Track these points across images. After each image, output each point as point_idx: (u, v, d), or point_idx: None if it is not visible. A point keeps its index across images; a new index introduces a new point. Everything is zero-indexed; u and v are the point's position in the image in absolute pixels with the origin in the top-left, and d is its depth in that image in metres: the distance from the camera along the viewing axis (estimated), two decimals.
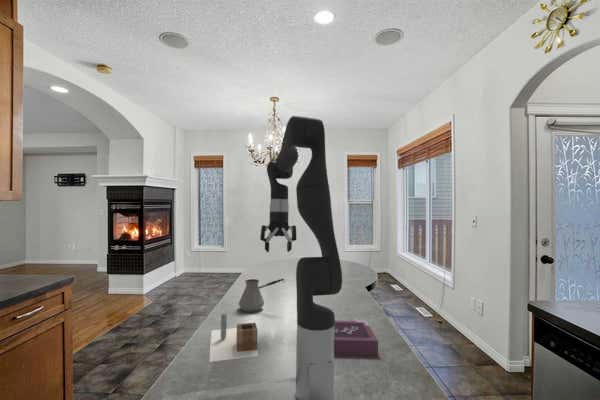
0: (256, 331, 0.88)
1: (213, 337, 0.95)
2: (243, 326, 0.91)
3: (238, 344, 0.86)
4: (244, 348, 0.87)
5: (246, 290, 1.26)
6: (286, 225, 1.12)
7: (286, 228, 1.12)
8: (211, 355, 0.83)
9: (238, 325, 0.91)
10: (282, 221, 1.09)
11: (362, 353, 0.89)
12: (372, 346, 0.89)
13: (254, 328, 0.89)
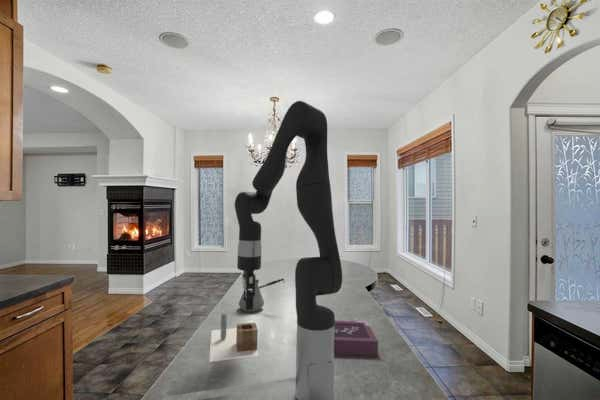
0: (256, 331, 0.88)
1: (213, 337, 0.95)
2: (243, 326, 0.91)
3: (238, 344, 0.86)
4: (244, 348, 0.87)
5: None
6: None
7: None
8: (211, 355, 0.83)
9: (238, 325, 0.91)
10: None
11: (362, 353, 0.89)
12: (371, 346, 0.89)
13: (254, 328, 0.89)
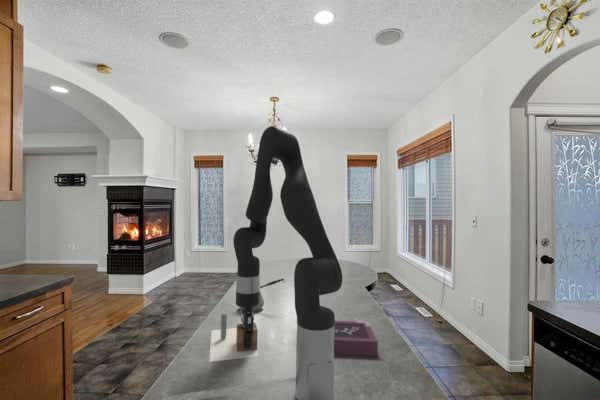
0: (256, 331, 0.88)
1: (213, 337, 0.95)
2: None
3: (238, 344, 0.86)
4: (244, 348, 0.87)
5: None
6: None
7: None
8: (211, 355, 0.83)
9: (238, 325, 0.91)
10: None
11: (361, 354, 0.88)
12: (371, 346, 0.88)
13: (254, 328, 0.89)
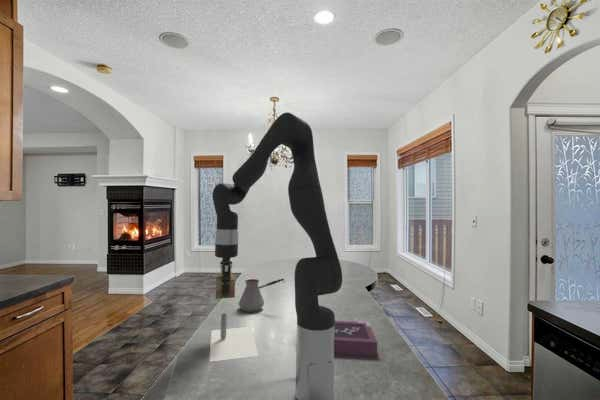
0: (234, 280, 0.93)
1: (213, 337, 0.95)
2: None
3: (216, 292, 0.92)
4: (222, 295, 0.92)
5: (246, 290, 1.26)
6: None
7: None
8: (211, 355, 0.83)
9: (217, 276, 0.97)
10: None
11: (361, 354, 0.88)
12: (371, 347, 0.88)
13: (232, 278, 0.94)
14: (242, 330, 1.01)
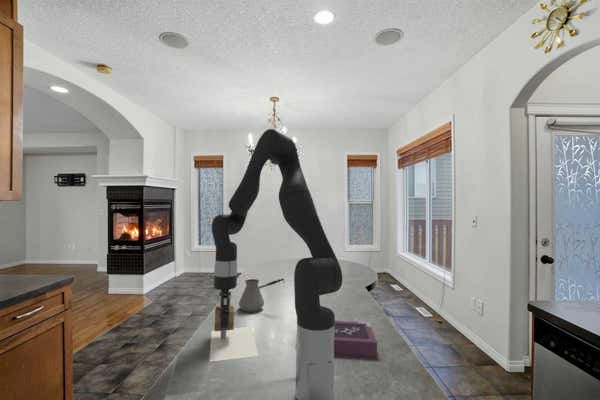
0: (233, 312, 0.93)
1: (213, 337, 0.95)
2: None
3: (215, 324, 0.91)
4: (221, 328, 0.92)
5: (246, 290, 1.26)
6: None
7: None
8: (211, 355, 0.83)
9: (216, 307, 0.96)
10: None
11: (360, 354, 0.88)
12: (370, 347, 0.88)
13: (231, 310, 0.94)
14: (242, 330, 1.01)
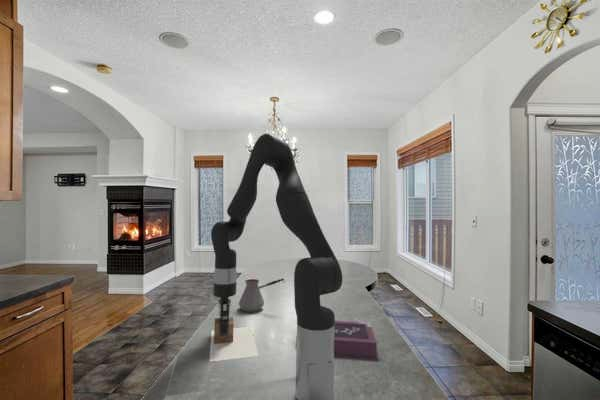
0: (232, 324, 0.92)
1: (213, 337, 0.95)
2: None
3: (215, 337, 0.91)
4: (221, 340, 0.91)
5: (246, 290, 1.26)
6: None
7: None
8: (211, 355, 0.83)
9: (216, 319, 0.96)
10: None
11: (360, 354, 0.88)
12: (370, 347, 0.88)
13: (230, 322, 0.94)
14: (242, 330, 1.01)
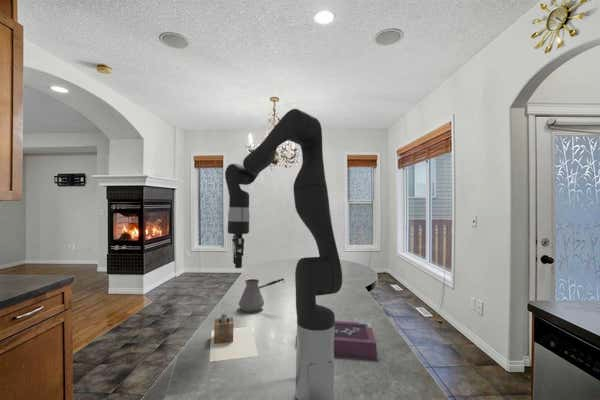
0: (232, 324, 0.92)
1: (213, 337, 0.95)
2: None
3: (215, 337, 0.91)
4: (221, 340, 0.91)
5: (246, 290, 1.26)
6: None
7: None
8: (211, 355, 0.83)
9: (216, 319, 0.96)
10: None
11: (360, 355, 0.88)
12: (370, 348, 0.87)
13: (230, 322, 0.94)
14: (242, 330, 1.01)
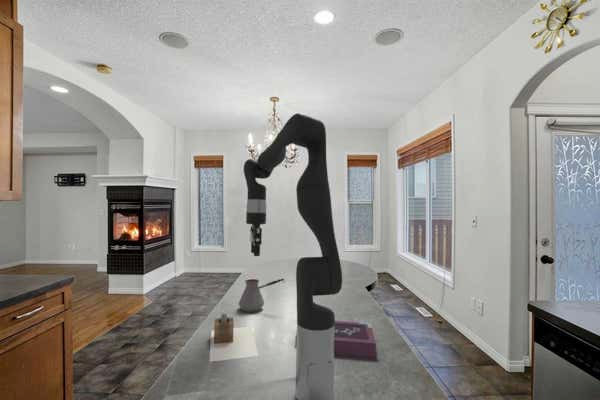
0: (232, 324, 0.92)
1: (213, 337, 0.95)
2: None
3: (215, 337, 0.91)
4: (221, 340, 0.91)
5: (246, 290, 1.26)
6: None
7: None
8: (211, 355, 0.83)
9: (216, 319, 0.96)
10: None
11: (359, 355, 0.88)
12: (369, 348, 0.87)
13: (230, 322, 0.94)
14: (242, 330, 1.01)
